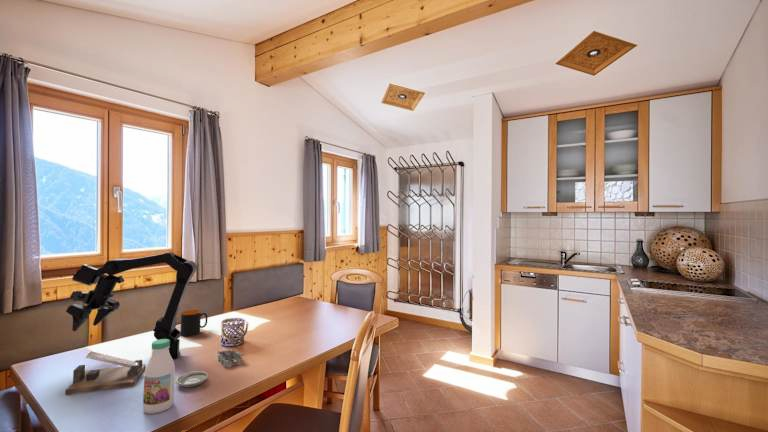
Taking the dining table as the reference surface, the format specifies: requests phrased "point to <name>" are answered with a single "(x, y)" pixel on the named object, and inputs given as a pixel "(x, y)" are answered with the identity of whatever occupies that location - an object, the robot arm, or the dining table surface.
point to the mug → (191, 323)
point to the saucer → (191, 378)
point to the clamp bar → (111, 359)
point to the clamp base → (104, 378)
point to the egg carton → (229, 358)
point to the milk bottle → (159, 379)
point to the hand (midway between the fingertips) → (84, 328)
